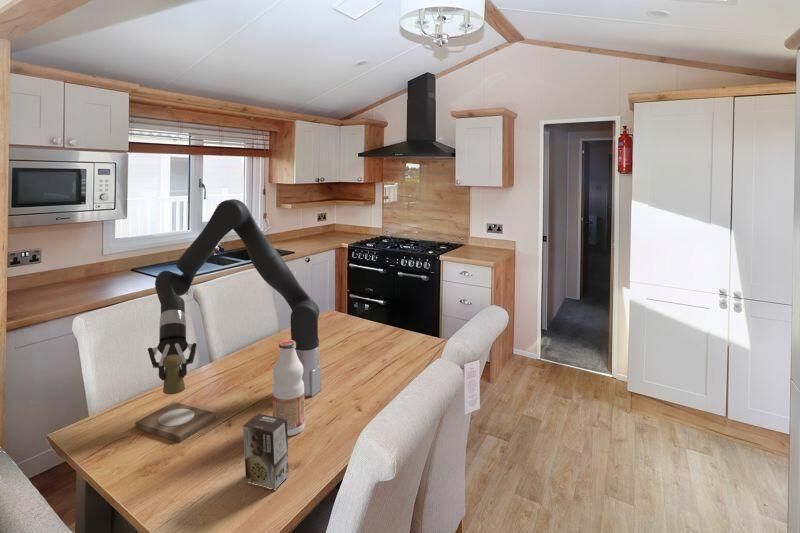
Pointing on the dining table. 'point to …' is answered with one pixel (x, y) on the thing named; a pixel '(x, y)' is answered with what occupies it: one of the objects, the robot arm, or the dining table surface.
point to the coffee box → (266, 450)
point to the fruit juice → (289, 388)
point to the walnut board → (176, 421)
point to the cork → (173, 375)
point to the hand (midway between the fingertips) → (173, 377)
